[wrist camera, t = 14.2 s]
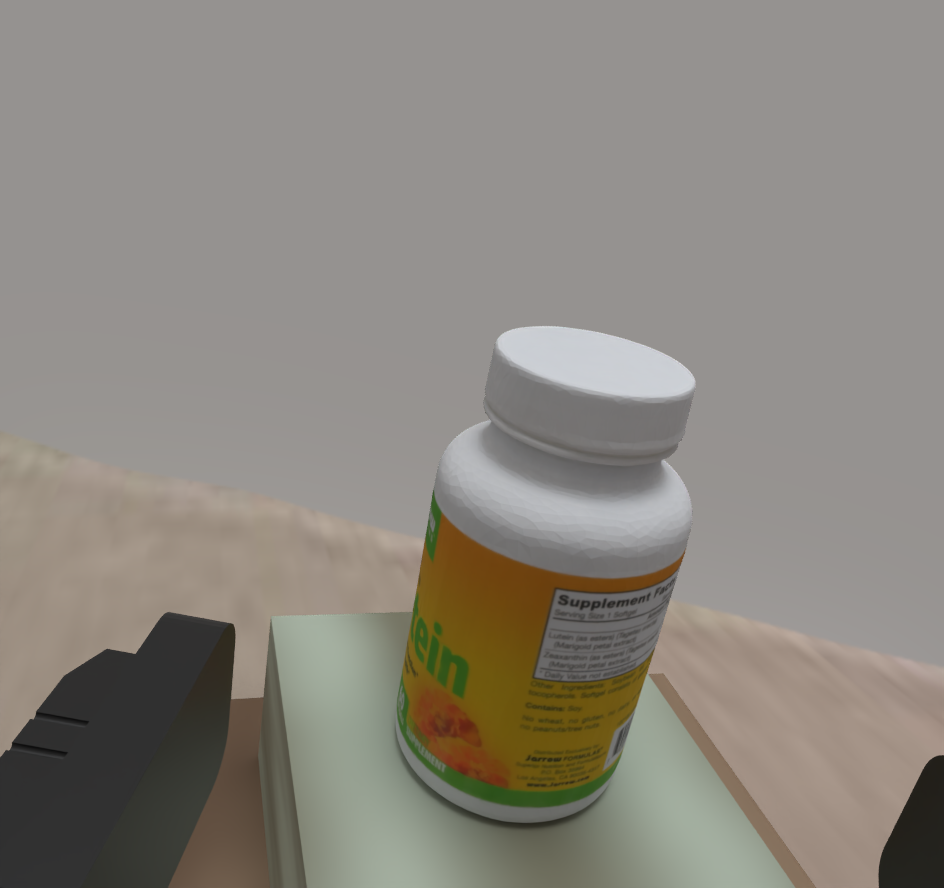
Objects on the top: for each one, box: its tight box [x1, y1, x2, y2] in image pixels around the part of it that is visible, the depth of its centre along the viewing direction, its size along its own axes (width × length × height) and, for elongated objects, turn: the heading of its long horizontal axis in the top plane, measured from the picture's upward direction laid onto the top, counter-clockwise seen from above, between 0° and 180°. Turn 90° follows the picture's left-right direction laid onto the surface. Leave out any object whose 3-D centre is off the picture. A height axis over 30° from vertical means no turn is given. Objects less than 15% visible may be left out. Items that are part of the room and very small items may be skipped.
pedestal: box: [168, 612, 816, 888], centre depth 22 cm, size 20×15×6 cm
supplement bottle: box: [395, 326, 696, 823], centre depth 19 cm, size 5×5×10 cm
